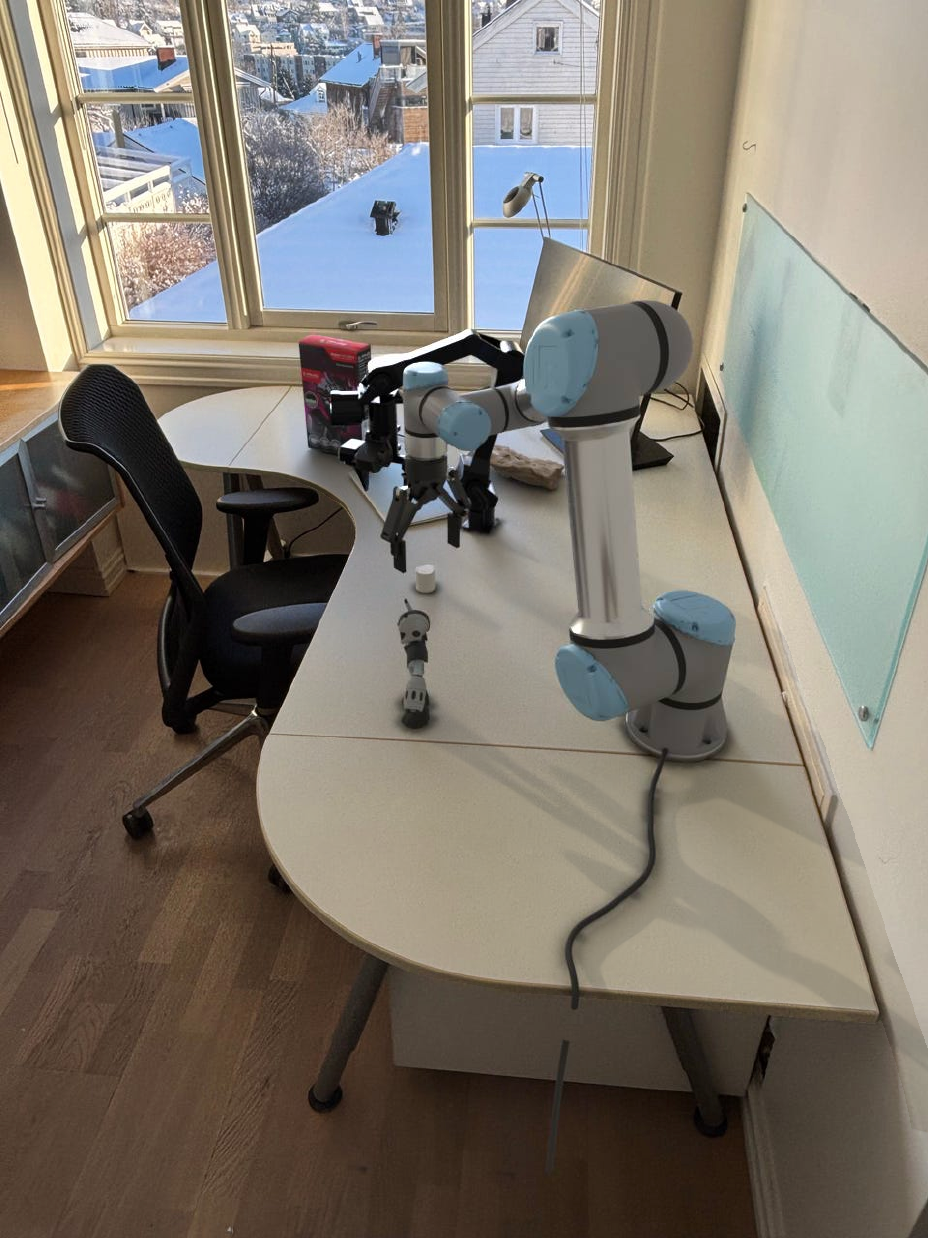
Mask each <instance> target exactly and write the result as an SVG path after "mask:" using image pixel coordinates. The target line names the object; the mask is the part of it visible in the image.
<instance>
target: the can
mask: <svg viewBox="0 0 928 1238" xmlns="http://www.w3.org/2000/svg"><path fill="white" fill-rule="evenodd" d="M415 589H416V591H417V592H419V593H421V594H422V593H423V594H429V593H432V592H434V591H435V589H436V567H435V566H433V565H432V564H420V565H418V566H416V568H415Z"/></svg>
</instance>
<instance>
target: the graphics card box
mask: <svg viewBox="0 0 928 1238" xmlns="http://www.w3.org/2000/svg"><path fill="white" fill-rule="evenodd" d="M297 344H298V353H299V362H300V363H299V364H300V374H301V383H302V384H301V385H302V395H303V406H304V416H305V428H306V438H307V439H306V440H307V447H308V449H312V450H317V451H321V452H325V453H330V454H334V455H338V451H339V448H340V447H341V446H342V445H344V444H345V443H346V442H348V441H349V440H350V439H355V440H361V441H365V439H366V437H365V435H366V431H368V430H369V419H368V405H364V408H365V420H362V424H360V426H337V427H332V425H331V411H330V404H331V396H330V392H331V391H340V392H345V391H358V389H357V387H358V385H359V384H360V382H361V381H362V380H363V378H364V377H365V375H366V368H367V365H368V364H369V362H370V361H371V360H372V345H371V343H363V342H359V341H352V340H347V339H341V338H336V337H330V336H325V335H320V334H313V333H312V334H309V335H307V336H305V337H304V338H302V339H301V340H300V341H298V343H297Z"/></svg>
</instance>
